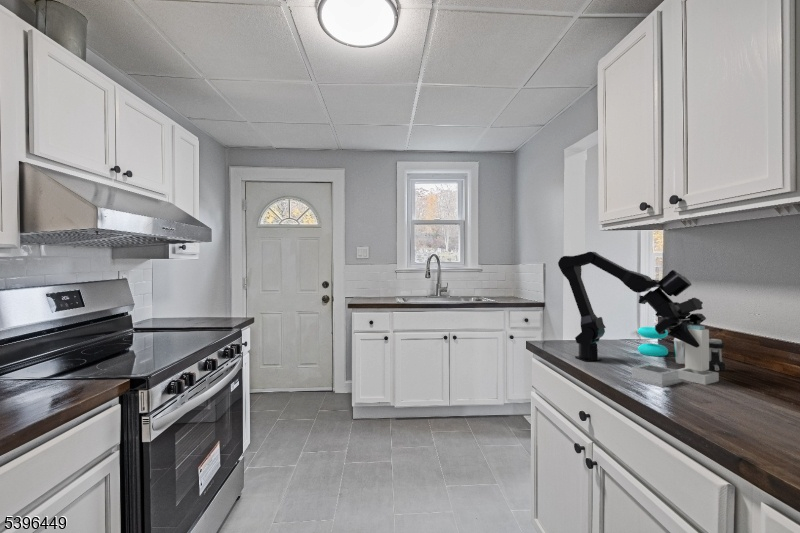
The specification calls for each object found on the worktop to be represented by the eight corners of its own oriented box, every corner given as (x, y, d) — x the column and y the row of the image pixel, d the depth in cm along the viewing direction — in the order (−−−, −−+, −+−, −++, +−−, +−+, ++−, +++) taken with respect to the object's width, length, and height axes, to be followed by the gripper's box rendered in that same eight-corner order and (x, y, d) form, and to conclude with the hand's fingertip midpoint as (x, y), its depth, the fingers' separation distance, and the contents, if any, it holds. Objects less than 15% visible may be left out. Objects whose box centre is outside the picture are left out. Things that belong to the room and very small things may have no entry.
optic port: (628, 378, 123) (628, 367, 123) (648, 374, 127) (647, 363, 127) (662, 387, 114) (662, 375, 114) (682, 382, 118) (682, 370, 118)
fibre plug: (685, 367, 122) (685, 325, 122) (692, 366, 124) (692, 324, 124) (701, 371, 118) (701, 327, 118) (708, 369, 120) (708, 326, 120)
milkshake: (677, 360, 144) (677, 333, 144) (692, 364, 139) (692, 335, 139) (668, 361, 143) (668, 333, 143) (683, 365, 138) (683, 336, 138)
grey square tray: (675, 377, 123) (675, 369, 123) (689, 374, 126) (689, 366, 126) (705, 384, 116) (705, 376, 116) (718, 381, 119) (718, 372, 119)
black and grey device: (704, 371, 130) (704, 340, 130) (696, 367, 135) (696, 337, 135) (728, 372, 128) (728, 341, 128) (720, 368, 133) (719, 338, 133)
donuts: (660, 326, 159) (673, 330, 150) (660, 351, 160) (673, 357, 150) (633, 326, 161) (644, 330, 151) (633, 350, 161) (645, 356, 151)
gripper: (665, 290, 120) (707, 332, 110) (699, 288, 129) (740, 327, 119) (639, 313, 127) (676, 355, 117) (672, 310, 136) (710, 348, 126)
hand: (702, 346), depth 120 cm, fingers closed on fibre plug, 4 cm apart
